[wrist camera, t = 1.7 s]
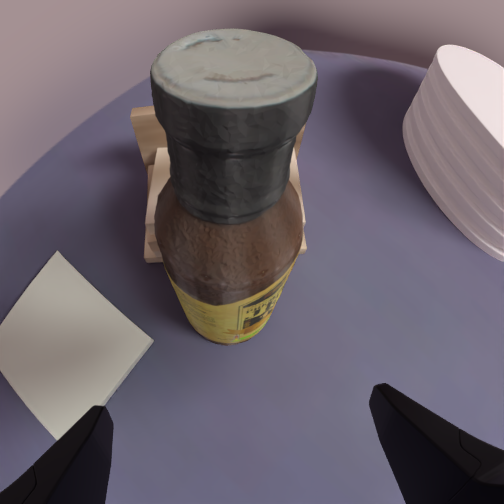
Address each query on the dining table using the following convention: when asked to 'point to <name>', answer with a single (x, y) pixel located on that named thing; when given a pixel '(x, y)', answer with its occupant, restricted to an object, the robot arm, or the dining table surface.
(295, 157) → the offcut rack
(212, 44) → the sauce bottle
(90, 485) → the robot arm
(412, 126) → the plate stack
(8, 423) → the dining table surface
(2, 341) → the cream tile board
